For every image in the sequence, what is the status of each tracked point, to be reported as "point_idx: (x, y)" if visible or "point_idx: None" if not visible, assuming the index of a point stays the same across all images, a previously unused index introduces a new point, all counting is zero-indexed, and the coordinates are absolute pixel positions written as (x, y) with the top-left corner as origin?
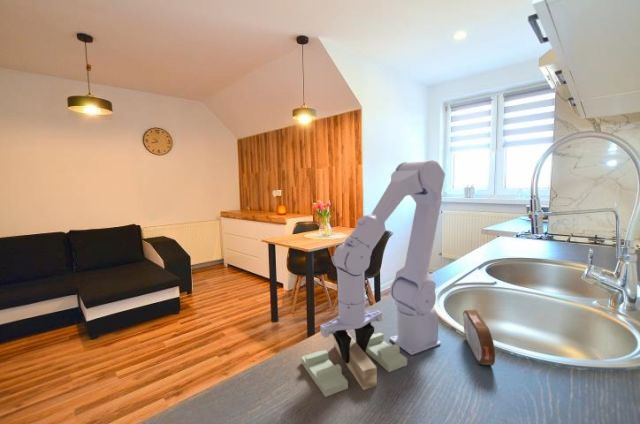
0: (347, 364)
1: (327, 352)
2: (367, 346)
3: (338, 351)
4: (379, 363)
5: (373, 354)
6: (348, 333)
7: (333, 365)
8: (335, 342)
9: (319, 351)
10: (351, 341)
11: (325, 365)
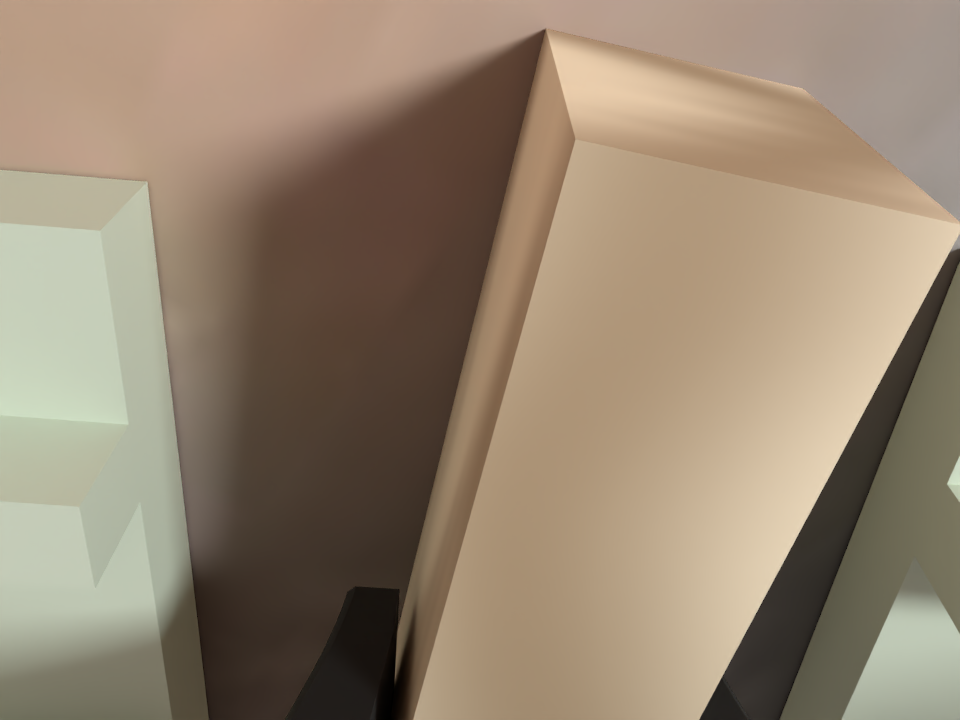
0: (412, 586)
1: (81, 580)
2: (924, 568)
3: (490, 269)
4: (783, 717)
5: (838, 672)
6: (826, 464)
7: (152, 639)
8: (531, 158)
9: (53, 239)
10: (626, 705)
11: (34, 591)
